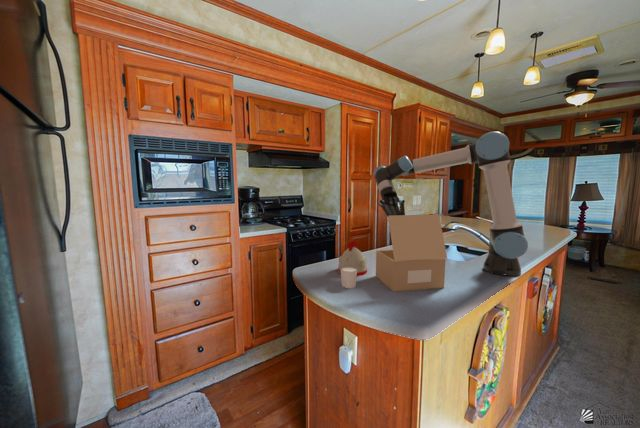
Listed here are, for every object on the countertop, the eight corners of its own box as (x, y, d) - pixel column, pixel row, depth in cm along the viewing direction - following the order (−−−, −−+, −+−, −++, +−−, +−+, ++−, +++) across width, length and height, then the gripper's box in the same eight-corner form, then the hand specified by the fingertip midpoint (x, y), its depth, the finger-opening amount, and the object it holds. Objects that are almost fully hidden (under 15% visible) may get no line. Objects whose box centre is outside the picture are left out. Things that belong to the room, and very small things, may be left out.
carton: (375, 276, 121) (376, 250, 120) (420, 273, 125) (421, 248, 123) (393, 291, 103) (394, 261, 102) (444, 288, 107) (445, 259, 106)
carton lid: (388, 216, 107) (389, 215, 106) (437, 215, 110) (439, 214, 109) (394, 261, 102) (395, 260, 101) (446, 258, 105) (447, 258, 105)
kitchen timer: (332, 272, 126) (333, 241, 125) (346, 265, 138) (346, 236, 136) (359, 278, 119) (360, 245, 117) (371, 270, 130) (372, 240, 128)
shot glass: (355, 289, 105) (355, 272, 104) (338, 287, 107) (338, 270, 107) (358, 283, 111) (358, 267, 111) (342, 281, 114) (343, 266, 113)
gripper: (397, 196, 136) (412, 234, 121) (372, 196, 134) (385, 235, 119) (402, 185, 130) (418, 224, 115) (377, 185, 128) (390, 225, 113)
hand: (401, 229), depth 117 cm, fingers closed
